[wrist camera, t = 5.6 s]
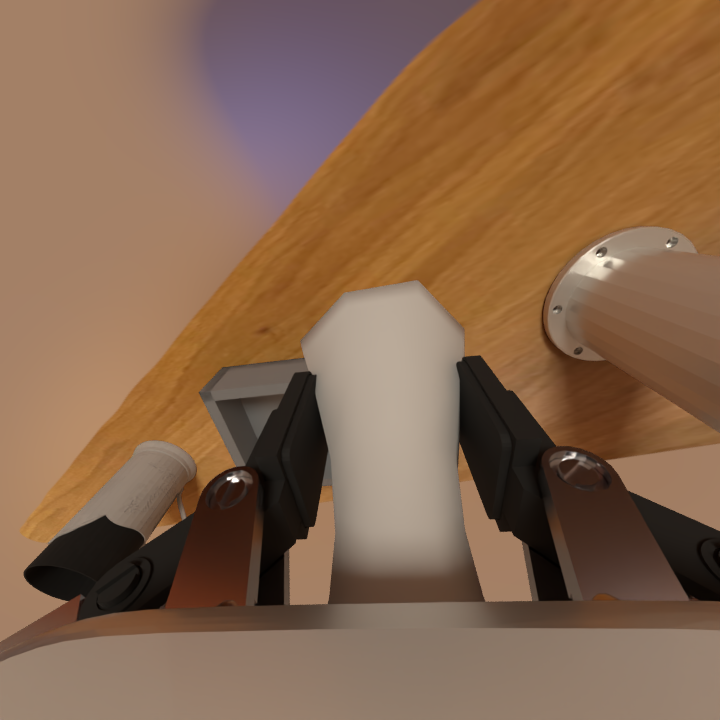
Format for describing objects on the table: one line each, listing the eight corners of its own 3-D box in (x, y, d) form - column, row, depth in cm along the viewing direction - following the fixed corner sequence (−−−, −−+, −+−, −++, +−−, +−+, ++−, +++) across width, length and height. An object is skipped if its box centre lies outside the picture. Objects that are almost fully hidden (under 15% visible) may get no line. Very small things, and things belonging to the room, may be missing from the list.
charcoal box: (358, 351, 31) (356, 375, 26) (375, 450, 38) (376, 482, 33) (222, 367, 32) (198, 392, 28) (262, 459, 39) (248, 491, 35)
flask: (354, 441, 15) (330, 766, 6) (272, 330, 12) (17, 646, 3) (487, 389, 13) (719, 747, 4) (429, 244, 10) (767, 451, 2)
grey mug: (154, 430, 38) (37, 550, 24) (238, 487, 42) (177, 612, 29) (122, 459, 40) (1, 579, 27) (204, 508, 45) (135, 632, 32)
